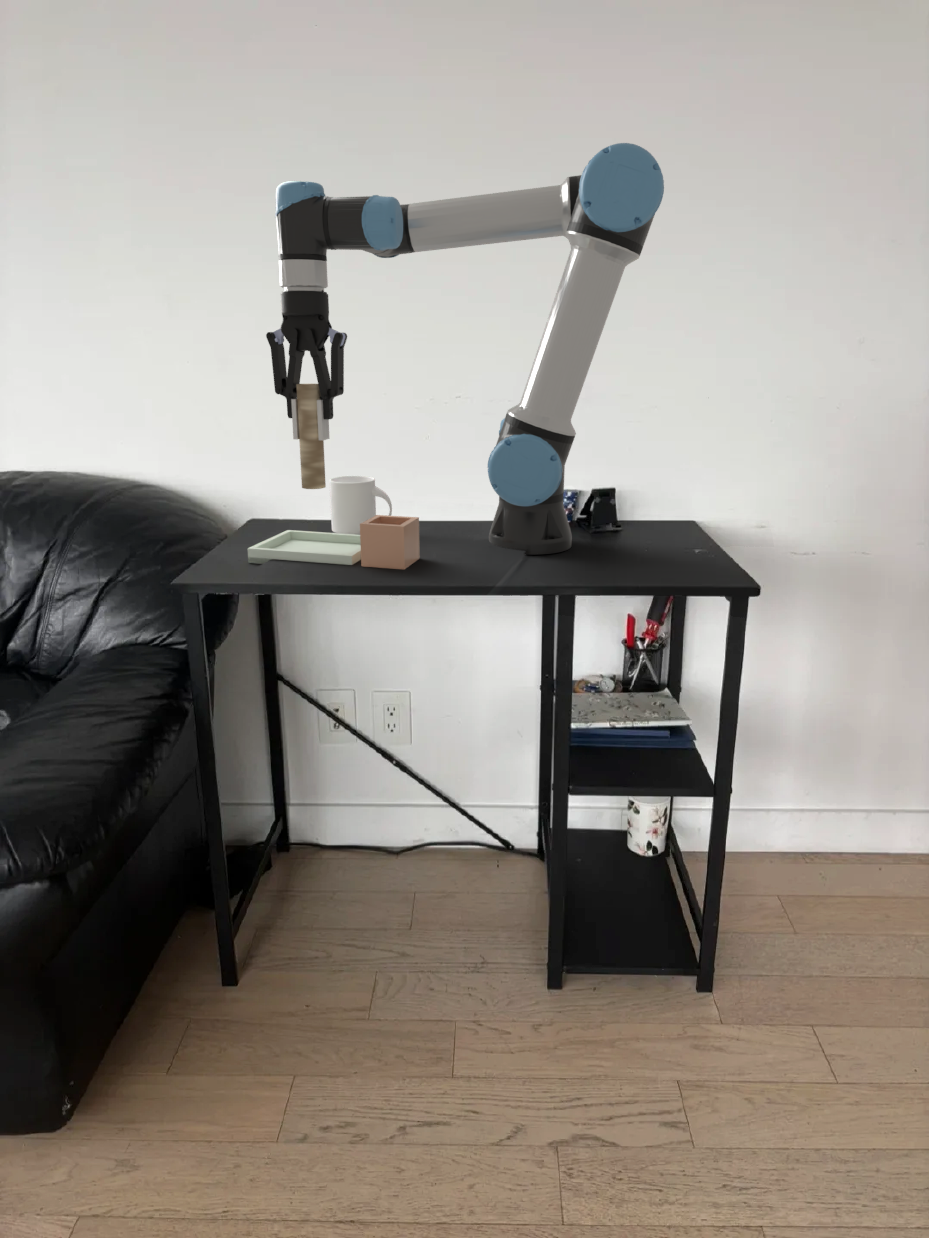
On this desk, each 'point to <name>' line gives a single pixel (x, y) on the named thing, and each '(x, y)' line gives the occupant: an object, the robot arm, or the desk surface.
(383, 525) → the planter
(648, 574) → the desk surface
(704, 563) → the desk surface
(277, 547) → the tray
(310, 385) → the dowel
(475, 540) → the desk surface
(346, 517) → the mug
